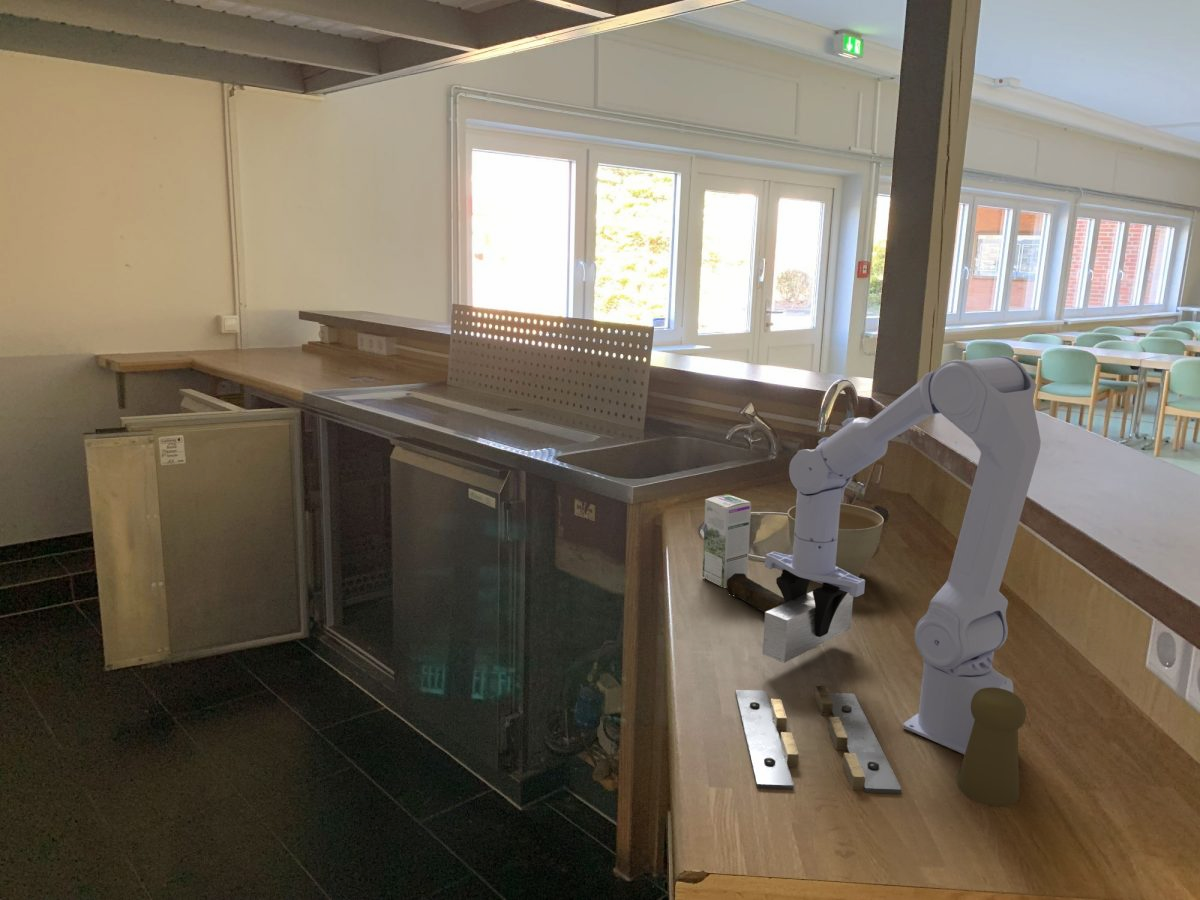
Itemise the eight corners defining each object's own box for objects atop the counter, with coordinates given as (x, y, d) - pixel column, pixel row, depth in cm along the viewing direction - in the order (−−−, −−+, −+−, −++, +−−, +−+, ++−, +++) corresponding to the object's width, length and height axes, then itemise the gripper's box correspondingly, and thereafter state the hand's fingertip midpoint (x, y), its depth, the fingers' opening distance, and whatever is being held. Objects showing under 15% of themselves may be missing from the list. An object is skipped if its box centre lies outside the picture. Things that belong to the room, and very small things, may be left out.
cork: (957, 798, 89) (969, 702, 87) (956, 766, 95) (967, 675, 92) (1021, 812, 87) (1035, 714, 85) (1016, 779, 93) (1029, 686, 90)
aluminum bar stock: (850, 628, 123) (853, 589, 122) (784, 662, 113) (787, 620, 111) (829, 621, 126) (832, 582, 124) (762, 653, 115) (765, 611, 114)
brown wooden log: (724, 596, 141) (725, 570, 140) (744, 592, 143) (746, 566, 142) (796, 644, 125) (798, 614, 124) (818, 639, 126) (820, 610, 125)
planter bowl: (826, 552, 163) (830, 496, 160) (897, 579, 150) (903, 519, 147) (764, 568, 154) (768, 509, 151) (835, 598, 141) (840, 535, 138)
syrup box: (748, 582, 147) (753, 500, 144) (722, 589, 144) (727, 506, 140) (725, 572, 152) (730, 492, 148) (700, 578, 148) (704, 497, 145)
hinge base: (853, 697, 109) (854, 685, 109) (901, 793, 90) (902, 780, 90) (735, 693, 110) (735, 681, 110) (757, 788, 90) (757, 774, 90)
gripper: (880, 542, 113) (871, 638, 116) (788, 517, 124) (782, 606, 127) (851, 554, 109) (843, 654, 112) (758, 527, 119) (752, 619, 122)
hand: (808, 629), depth 119 cm, fingers closed on aluminum bar stock, 3 cm apart
